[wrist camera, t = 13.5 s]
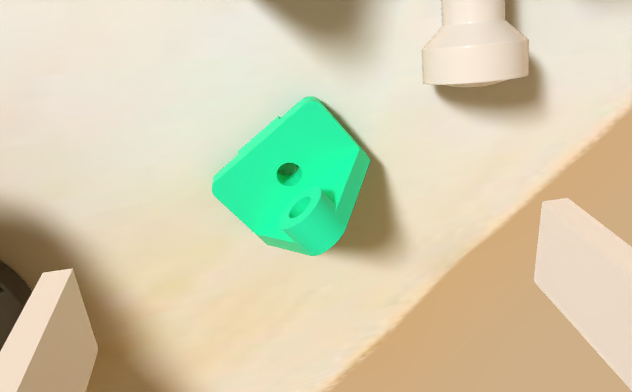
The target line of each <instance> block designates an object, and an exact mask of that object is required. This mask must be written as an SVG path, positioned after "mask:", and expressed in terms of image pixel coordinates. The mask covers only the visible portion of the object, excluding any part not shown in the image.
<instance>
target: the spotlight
mask: <svg viewBox="0 0 632 392" xmlns="http://www.w3.org/2000/svg"><path fill="white" fill-rule="evenodd" d="M441 6H442V27H441V29H440V30H439V31H438V32H437V33H436V34H435V35H434V36H433V38H432V39H431V40H430V41H429V42H428V43H427V44H426V45H425V46H424V48H423V49H422V69H423V84H428V85H447V86H452V87H481V86H488V85H492V84H496V83H500V82H503V81H505V80H509V79H516V78H522V77H526V76H529V39H527V38H526V37H525V36H524V35H523V34H521V33H520V32H519V31H518V30H517V29H515V28H514V27H513V26H512V25H511V24H510V23H508V22H507V21H506V20H505V0H441Z"/></svg>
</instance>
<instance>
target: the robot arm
mask: <svg viewBox="0 0 632 392" xmlns="http://www.w3.org/2000/svg"><path fill="white" fill-rule="evenodd" d="M534 282H535V283H536V284H537V285H538V287H539V288H540V289H541V290H542V291H543V292H544V293H545V294H546V295H547V297H548V298H549V299H550V300H551V301H552V302H553V303H554V304H555V306H556V307H557V308H558V309H559V310H560V311H561V312H562V314H563V315H564V316H565V317H566V318H567V319H568V320H569V321H570V322H571V324H572V325H573V326H574V327H575V328H576V329H577V330H578V331H579V333H580V334H581V335H582V336H583V337H584V338H585V339H586V340H587V341H588V343H589V344H590V345H591V346H592V347H593V348H594V349H595V350H596V352H597V353H598V354H599V355H600V356H601V357H602V358H603V359H604V361H605V362H606V363H607V364H608V365H609V366H610V367H611V368H612V370H613V371H614V372H615V373H616V374H617V375H618V376H619V377H620V378H621V380H622V381H623V382H624V383H625V384H626V385H627V386H628V388H629V389H630V390H631V391H632V247H631V246H629V245H628V244H627V243H626V242H624V241H623V240H622V239H620V238H619V237H618V236H616V235H615V234H614V233H612V232H611V231H610V230H609V229H607V228H606V227H605V226H603V225H602V224H601V223H599V222H598V221H597V220H596V219H594V218H593V217H591V216H590V215H589V214H588V213H586V212H585V211H584V210H583V209H581V208H580V207H579V206H577V205H576V204H575V203H573V202H572V201H571V200H570V199H568V198H564V199H557V200H550V201H543V202H542V210H541V219H540V229H539V238H538V247H537V256H536V266H535V274H534ZM98 350H99V349H98V346H97V343H96V340H95V337H94V333H93V330H92V327H91V324H90V321H89V318H88V315H87V311H86V308H85V305H84V302H83V299H82V296H81V293H80V289H79V286H78V283H77V280H76V277H75V274H74V271H73V268H72V269H65V270H58V271H51V272H44V273H42V275H41V277H40V279H39V281H38V283H37V284H36V286H35V288H34V290H33V292H32V293H31V291H30V289H29V288H28V286H27V285H26V284H25V283H24V281H23V280H22V279H21V278H20V277H19V276H18V275H17V274H16V273H15V272H14V271H13V270H11V269H10V268H9V267H8V266H6V265H5V264H3V263H2V262H0V392H86V389H87V386H88V383H89V380H90V376H91V373H92V370H93V366H94V363H95V360H96V357H97V353H98Z"/></svg>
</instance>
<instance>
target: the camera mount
mask: <svg viewBox="0 0 632 392" xmlns="http://www.w3.org/2000/svg"><path fill="white" fill-rule="evenodd" d="M370 161H371V160H370V159H369V157H368V155H367V154H366V153H365V151H364V150H363V149H362V148H361V147H360V146H359V145H358V143H357V142H356V141H355V140H354V139H353V138H352V137H351V135H350V134H349V133H348V132H347V131H346V130H345V129H344V128H343V126H342V125H341V124H340V123H339V122H338V121H337V120H336V118H335V117H334V116H333V115H332V114H331V113H330V112H329V110H328V109H327V108H326V107H325V106H324V105H323V104H322V102H321V101H320V100H319V99H317V98H315V97H306V98H304V99H302V100H301V101H300V102H299V103H297V104H296V105H295V106H294V107H293V108H292V109H291V110H289V111H288V112H287V113H286V114H285V115H284V116H283V117H281V118H280V117H279V116H278V117H277V118H276V119H275V120H274V121H272V122H271V123H270V124H269V125H268V126H267V127H265V128H264V129H263V130H262V131H261V132H260V133H259V134H257V135H256V136H255V137H254V138H253V139H252V140H251V141H249V142H248V143H247V144H246V145H245V146H244V147H242V148H241V149H240V150H239V151H238V156H236V157H235V158H234V159H233V160H232V161H231V162H230V163H228V164H227V165H226V166H225V167H224V168H223V169H221V170H220V171H219V172H218V173H217V174H216V175H215V176H214V178H213V185H212V192H213V194H214V196H215V197H216V198H217V199H218V200H219V201H220V202H222V203H223V204H224V205H225V206H226V207H227V208H228V209H229V210H230V211H231V212H232V213H234V214H235V215H236V216H237V217H238V218H239V219H240V220H241V221H242V222H243V223H244V224H245V225H247V226H248V227H249V228H250V229H251V230H252V231H253V232H254V233H255V234H256V235H257V236H258V237H260V238H261V239H262V240H263V241H264V242H265V243H266V244H267V245H271V246H275V247H279V248H283V249H287V250H290V251H294V252H298V253H302V254H306V255H310V256H316V255H319V254H322V253H324V252H325V251H327V250H328V249H330V248H331V247H332V246H333V245H334V244H335V243H336V242H337V241H338V240H339V239H340V238H341V236H342V235H343V233H344V232H345V230H346V227H347V225H348V222H349V219H350V216H351V214H352V211H353V208H354V205H355V202H356V200H357V197H358V194H359V191H360V188H361V186H362V183H363V180H364V177H365V175H366V172H367V169H368V166H369V163H370ZM285 163H294V164H296V165H298V166H299V167H298V169H297V171H296V172H294V173H293V174H290V175H283V174H281V173H279V172H278V171H277V170H278V168H279V167H280V166H281V165H283V164H285Z"/></svg>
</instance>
